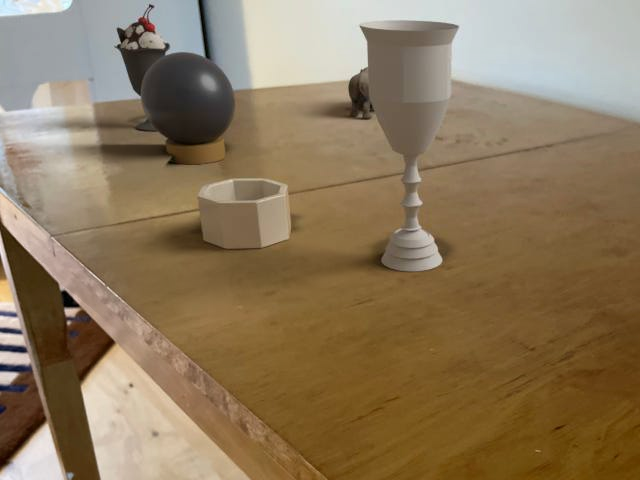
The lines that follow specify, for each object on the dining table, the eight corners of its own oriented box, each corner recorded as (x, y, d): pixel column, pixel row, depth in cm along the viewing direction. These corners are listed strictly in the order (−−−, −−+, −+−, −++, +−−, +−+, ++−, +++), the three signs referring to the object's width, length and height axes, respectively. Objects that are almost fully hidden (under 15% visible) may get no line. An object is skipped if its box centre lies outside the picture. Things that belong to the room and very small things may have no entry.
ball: (142, 168, 86) (122, 58, 81) (161, 146, 95) (145, 45, 89) (235, 168, 87) (222, 59, 82) (246, 146, 96) (235, 47, 91)
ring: (199, 249, 65) (192, 203, 63) (212, 221, 72) (206, 178, 70) (287, 247, 66) (282, 202, 64) (293, 220, 73) (289, 177, 71)
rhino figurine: (385, 101, 124) (384, 61, 121) (374, 119, 112) (373, 76, 109) (360, 101, 124) (358, 61, 121) (346, 119, 112) (344, 74, 109)
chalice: (430, 240, 69) (430, 19, 60) (470, 265, 64) (477, 29, 55) (354, 254, 65) (343, 21, 57) (390, 282, 60) (385, 32, 52)
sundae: (189, 129, 103) (170, 5, 96) (135, 134, 100) (113, 6, 93) (175, 120, 108) (156, 1, 101) (123, 124, 105) (101, 2, 97)
